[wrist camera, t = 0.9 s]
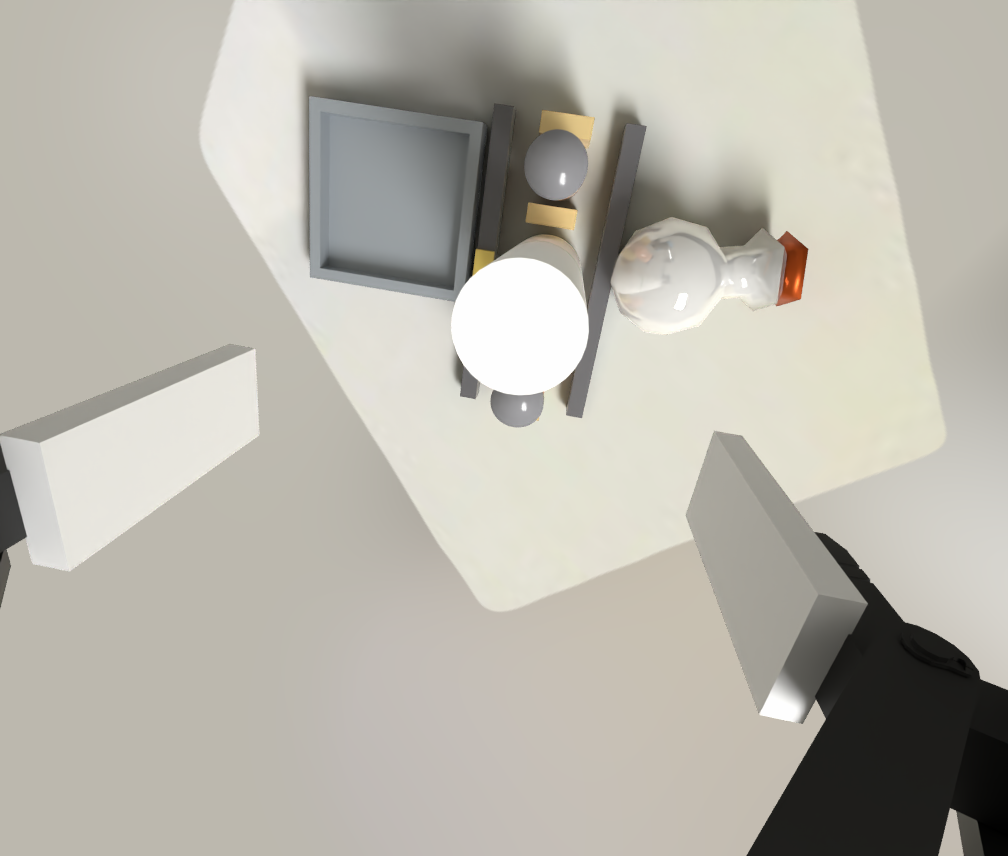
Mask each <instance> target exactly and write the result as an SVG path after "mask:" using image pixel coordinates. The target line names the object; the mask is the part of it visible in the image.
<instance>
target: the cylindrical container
mask: <svg viewBox="0 0 1008 856" xmlns="http://www.w3.org/2000/svg"><path fill="white" fill-rule="evenodd" d="M451 330H452V337H453V343H454V346H455V349H456V352H457V354H458V356H459V358H460V360H461V361H462V363H463V365H464V366H465V367H466V369H467V370H468V371H469V372H470V373H471V375H472V376H474V377H475V378H476V379H477V380H478V381H480V382H481V383H482V384H484V385H486V386H488V387H489V388H491V389H493V390H496V391H499V392H502V393H505V394H512V395H532V394H536V393H540V392H543V391H546V390H548V389H550V388H552V387H554V386H556V385H558V384H559V383H560V382H562V381H563V380H565V379H566V378H567V377H568V376H569V375H570V374H571V373H572V372H573V371H574V369H575V368H576V366H577V365H578V363H579V362H580V360H581V358H582V356H583V353H584V351H585V348H586V345H587V340H588V334H589V324H588V312H587V305H586V298H585V291H584V284H583V277H582V269H581V264H580V260H579V257H578V255H577V253H576V252H575V250H574V249H573V247H572V246H571V245H570V244H569V243H567V242H566V241H565V240H563V239H561V238H559V237H557V236H554V235H547V234H543V235H536V236H533V237H530V238H528V239H526V240H524V241H523V242H521V243H520V244H518V245H517V246H515V247H514V248H512V249H511V250H509V251H508V252H506V253H505V254H503V255H502V256H500V257H499V258H497V259H496V260H494V261H493V262H491V263H490V264H488V265H487V266H485V267H484V268H482V269H481V270H479V271H478V272H477V273H476V274H475V275H473V276H472V277H471V278H470V279H469V280H468V282H467V283H466V284H465V285H464V287H463V288H462V289H461V291H460V293H459V295H458V297H457V299H456V302H455V305H454V309H453V313H452V324H451Z"/></svg>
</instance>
